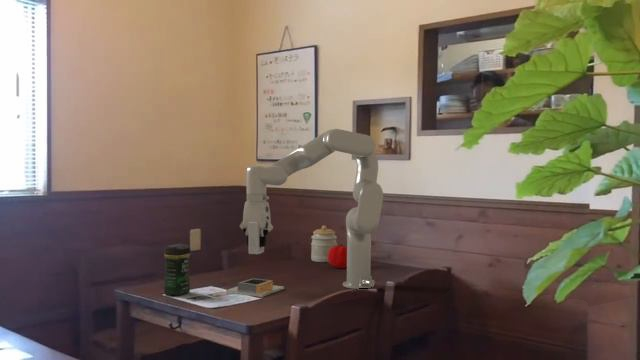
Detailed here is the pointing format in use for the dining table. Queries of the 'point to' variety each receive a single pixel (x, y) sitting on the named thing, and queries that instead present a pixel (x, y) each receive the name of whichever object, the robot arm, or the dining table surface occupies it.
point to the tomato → (338, 256)
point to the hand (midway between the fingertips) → (256, 245)
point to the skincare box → (254, 239)
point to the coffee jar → (177, 269)
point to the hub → (255, 288)
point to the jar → (322, 244)
